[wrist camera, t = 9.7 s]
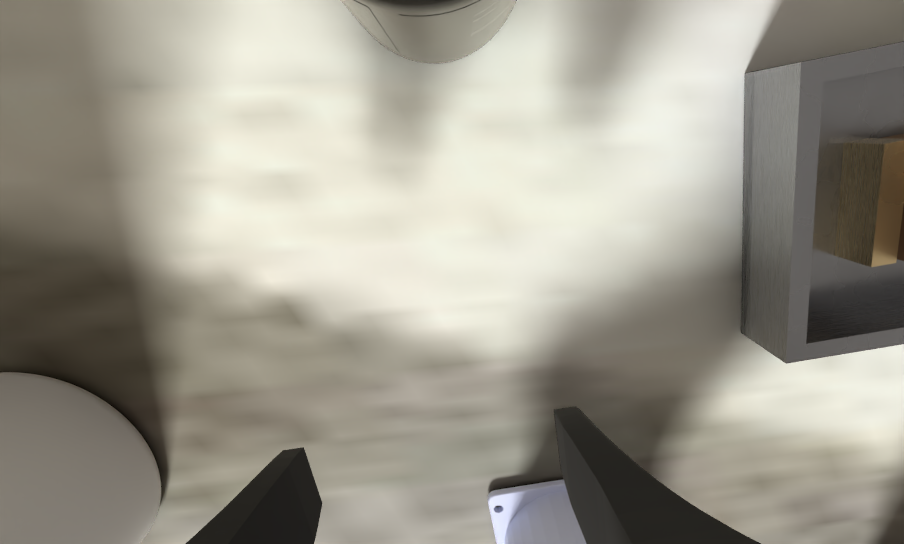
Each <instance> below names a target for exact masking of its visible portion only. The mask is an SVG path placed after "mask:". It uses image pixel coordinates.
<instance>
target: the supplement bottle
mask: <svg viewBox="0 0 904 544" xmlns="http://www.w3.org/2000/svg"><path fill="white" fill-rule="evenodd" d="M516 1H517V0H341V2H342V3H343V4H344V5H345V6H346V7H347V8H348V10H349V11H350V12H351V13H352V14H353V15H354V17H355V18H356V19H357V20H358V21H359V22H360V24H361V25H362V26H363V27H364V28H365V29H366V30H367V31H368V32H369V33H370V34H371V35H372V36H373V37H374V38H375V39H376V40H377V41H378V42H379V43H380V44H381V45H383V46H384V47H386V48H387V49H388V50H390V51H392V52H393V53H395V54H397V55H399V56H401V57H403V58H406V59H409V60H412V61H416V62H421V63H446V62H451V61H455V60H458V59H461V58H463V57H466V56H468V55H470V54H472V53H473V52H475V51H477V50H478V49H480V48H481V47H482V46H484V45H485V44H486V43H487V42H488V41H489V40H491V38H492V37H493V36H494V35H495V34H496V33H497V32H498V31H499V29H500V28H501V27H502V26H503V24H504V23H505V21H506V20H507V18H508V16H509V14H510V12H511V11H512V9H513V7H514V5H515V3H516Z"/></svg>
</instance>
